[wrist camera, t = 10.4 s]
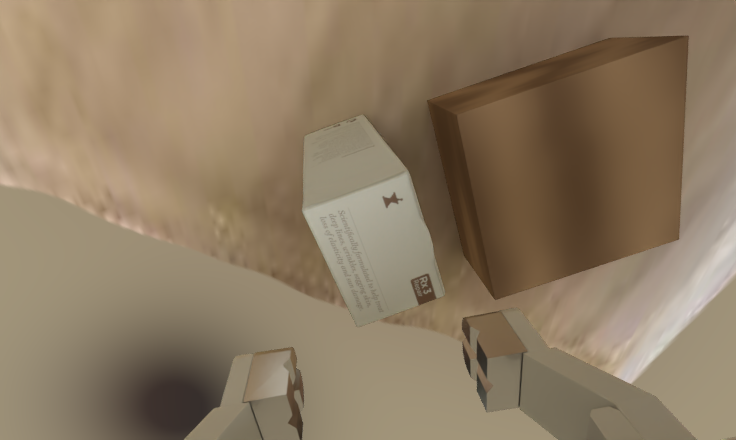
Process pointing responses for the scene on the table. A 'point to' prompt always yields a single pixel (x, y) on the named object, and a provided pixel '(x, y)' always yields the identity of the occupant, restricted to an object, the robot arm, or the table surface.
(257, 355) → the robot arm
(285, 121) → the table surface
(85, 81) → the table surface
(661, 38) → the walnut block
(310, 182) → the skincare box
